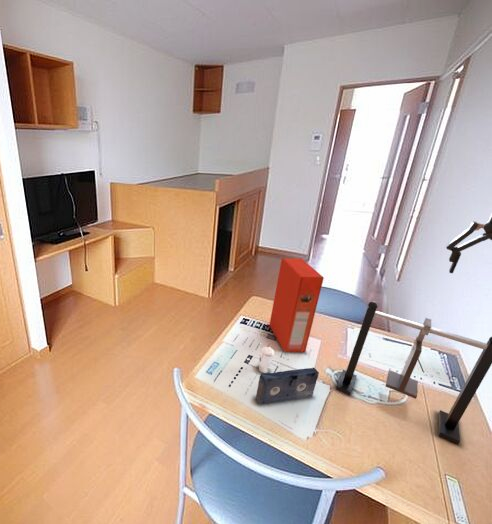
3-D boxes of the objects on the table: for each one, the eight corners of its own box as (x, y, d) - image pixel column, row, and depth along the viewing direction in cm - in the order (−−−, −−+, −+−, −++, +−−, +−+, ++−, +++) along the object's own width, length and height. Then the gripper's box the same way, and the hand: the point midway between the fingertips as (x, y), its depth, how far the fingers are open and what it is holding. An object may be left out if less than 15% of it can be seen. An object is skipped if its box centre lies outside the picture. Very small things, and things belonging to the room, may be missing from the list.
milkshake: (259, 362, 111) (263, 339, 107) (272, 370, 107) (278, 347, 103) (252, 368, 108) (256, 345, 104) (266, 376, 105) (271, 353, 101)
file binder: (283, 351, 117) (300, 276, 104) (268, 326, 132) (281, 258, 120) (305, 352, 116) (324, 277, 104) (287, 326, 132) (302, 258, 120)
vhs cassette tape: (307, 391, 99) (314, 366, 95) (313, 398, 96) (320, 373, 92) (254, 397, 96) (259, 372, 92) (258, 404, 94) (264, 379, 90)
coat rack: (456, 421, 88) (507, 331, 76) (458, 445, 82) (514, 350, 69) (342, 373, 106) (368, 293, 94) (335, 389, 99) (363, 306, 87)
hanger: (416, 383, 91) (445, 321, 83) (415, 399, 86) (446, 334, 77) (388, 372, 96) (412, 312, 87) (385, 386, 90) (411, 323, 82)
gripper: (583, 214, 80) (541, 286, 88) (452, 201, 95) (427, 263, 103) (593, 219, 75) (548, 295, 83) (453, 205, 90) (427, 270, 98)
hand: (481, 278), depth 93 cm, fingers open, 13 cm apart
